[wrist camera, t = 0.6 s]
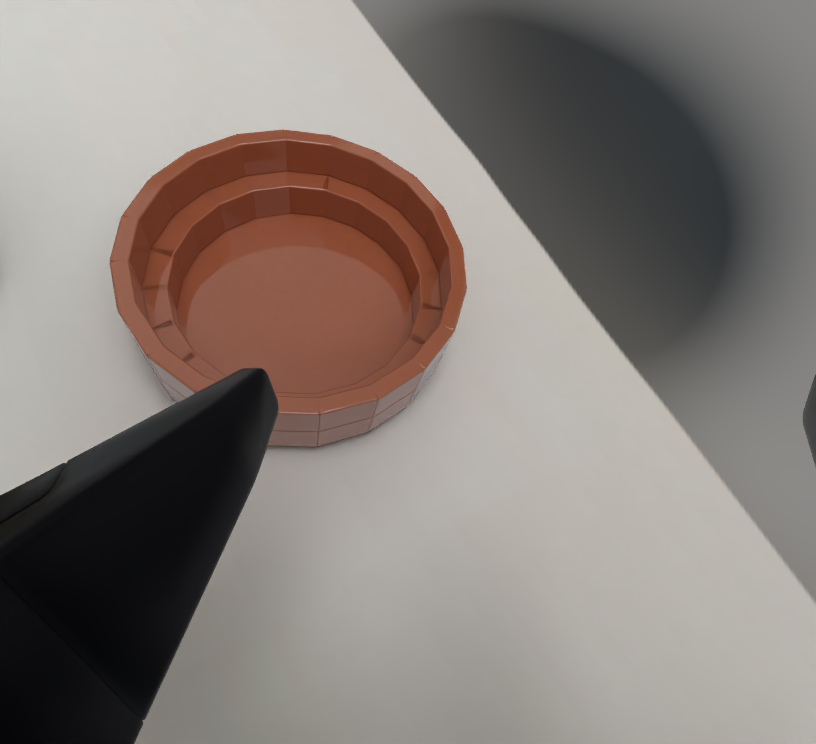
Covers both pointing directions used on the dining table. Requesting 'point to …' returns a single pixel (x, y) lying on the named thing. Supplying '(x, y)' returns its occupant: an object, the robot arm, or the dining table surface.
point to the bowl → (291, 278)
